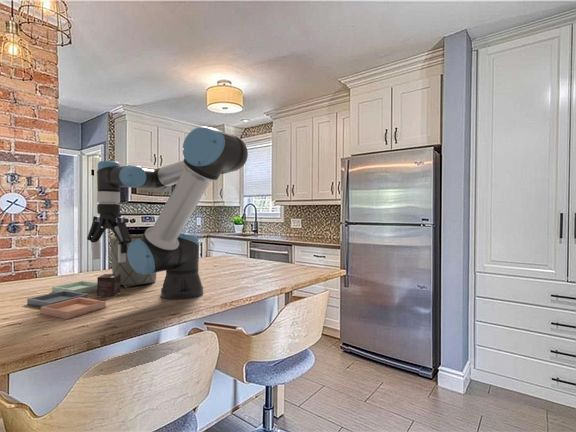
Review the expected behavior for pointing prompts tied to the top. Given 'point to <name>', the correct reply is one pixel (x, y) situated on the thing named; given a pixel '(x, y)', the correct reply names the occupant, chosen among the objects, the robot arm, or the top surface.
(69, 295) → the tray
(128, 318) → the top surface
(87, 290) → the tray
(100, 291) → the box
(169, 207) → the robot arm
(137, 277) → the planter
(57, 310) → the tray
